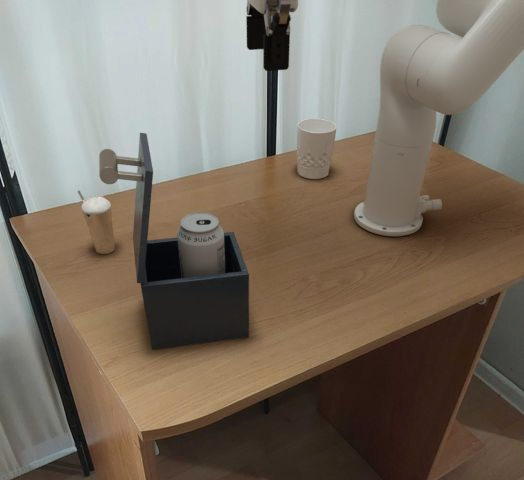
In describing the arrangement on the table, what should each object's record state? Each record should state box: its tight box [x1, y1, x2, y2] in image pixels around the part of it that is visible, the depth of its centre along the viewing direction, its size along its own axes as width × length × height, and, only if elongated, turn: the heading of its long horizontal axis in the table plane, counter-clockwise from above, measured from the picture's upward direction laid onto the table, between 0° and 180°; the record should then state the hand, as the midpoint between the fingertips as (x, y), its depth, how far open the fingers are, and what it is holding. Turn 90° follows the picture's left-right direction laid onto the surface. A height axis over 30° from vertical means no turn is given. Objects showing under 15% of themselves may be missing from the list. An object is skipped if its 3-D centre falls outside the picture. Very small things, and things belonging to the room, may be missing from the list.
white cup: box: [296, 117, 338, 180], centre depth 111 cm, size 8×8×10 cm
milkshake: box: [77, 190, 116, 255], centre depth 88 cm, size 5×5×10 cm
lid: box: [98, 132, 154, 284], centre depth 64 cm, size 14×11×5 cm
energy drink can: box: [176, 212, 225, 278], centre depth 73 cm, size 6×6×15 cm
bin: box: [140, 231, 250, 351], centre depth 74 cm, size 14×11×11 cm
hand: (266, 58), depth 72 cm, fingers open, 9 cm apart
